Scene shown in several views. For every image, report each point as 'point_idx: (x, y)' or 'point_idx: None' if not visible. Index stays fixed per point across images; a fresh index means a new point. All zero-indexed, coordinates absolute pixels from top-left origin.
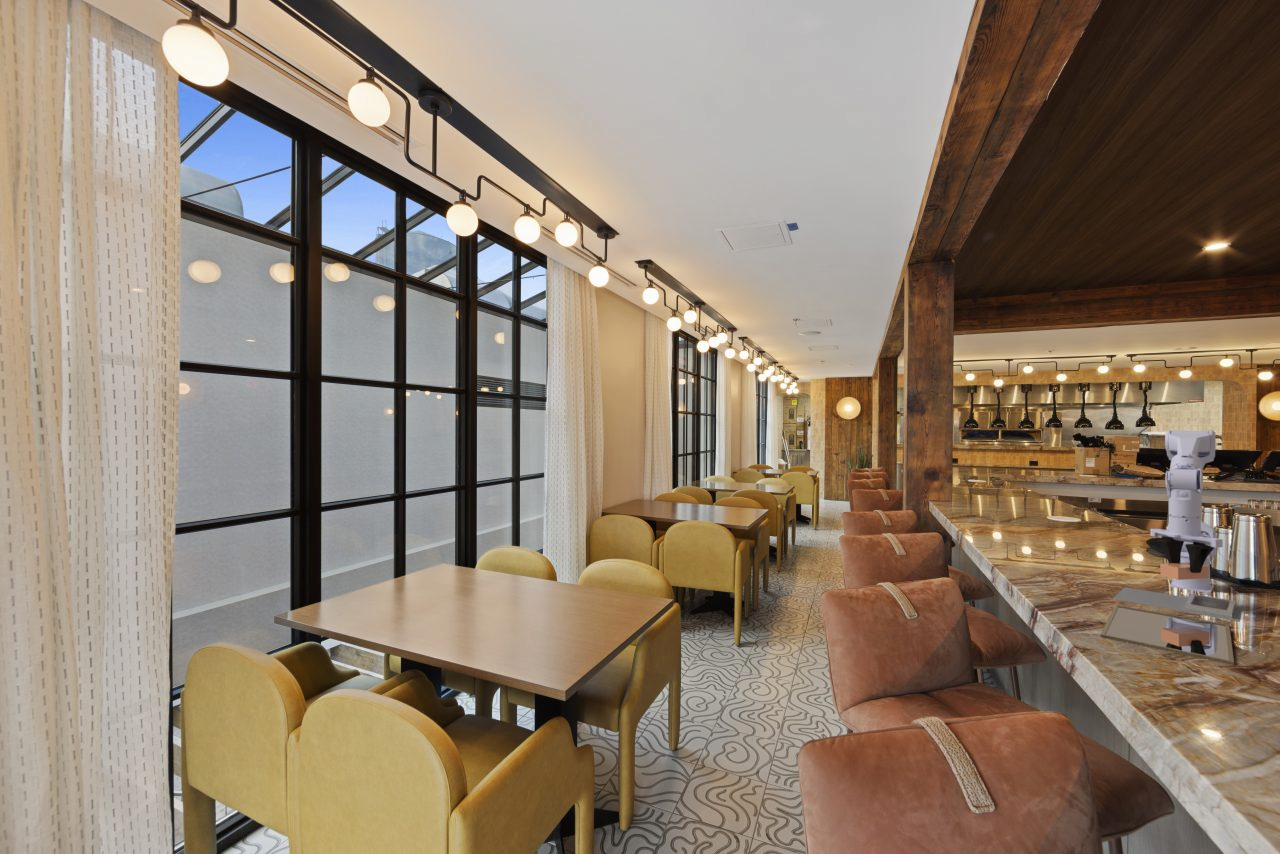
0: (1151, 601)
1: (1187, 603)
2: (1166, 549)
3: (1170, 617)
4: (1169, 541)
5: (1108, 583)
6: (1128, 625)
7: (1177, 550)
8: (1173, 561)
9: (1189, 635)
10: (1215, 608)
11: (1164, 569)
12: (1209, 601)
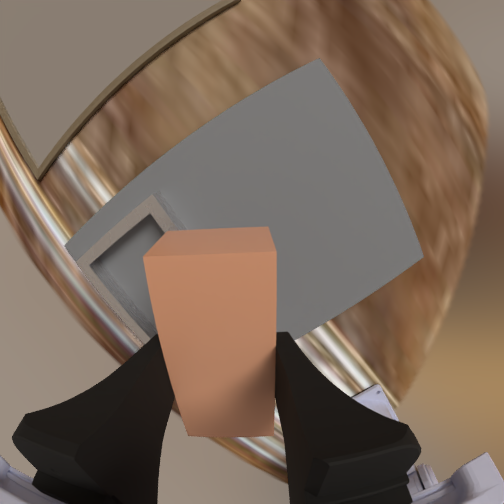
0: (269, 168)
1: (159, 210)
2: (317, 406)
3: (105, 66)
4: (317, 490)
5: (461, 256)
6: None
7: (290, 453)
8: (277, 366)
9: (21, 24)
10: (104, 249)
11: (244, 241)
12: None
